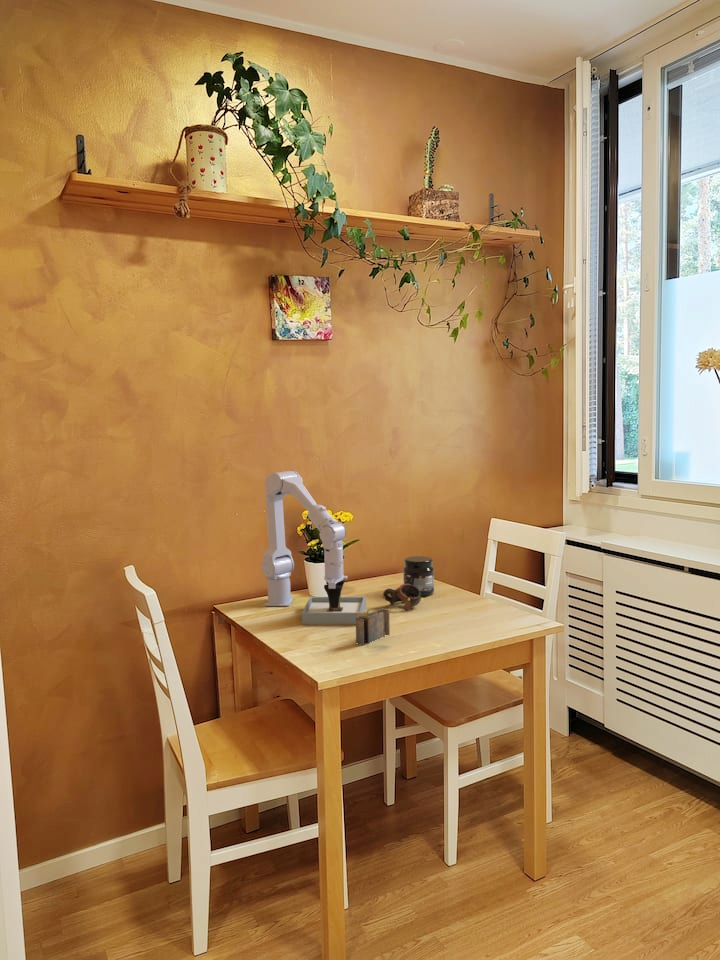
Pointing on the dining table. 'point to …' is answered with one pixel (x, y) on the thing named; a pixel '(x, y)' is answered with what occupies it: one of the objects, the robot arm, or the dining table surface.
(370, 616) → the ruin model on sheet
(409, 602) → the rusty metal pipe clamp
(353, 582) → the dining table surface
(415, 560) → the supplement container
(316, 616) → the crate
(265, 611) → the dining table surface
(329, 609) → the peg
